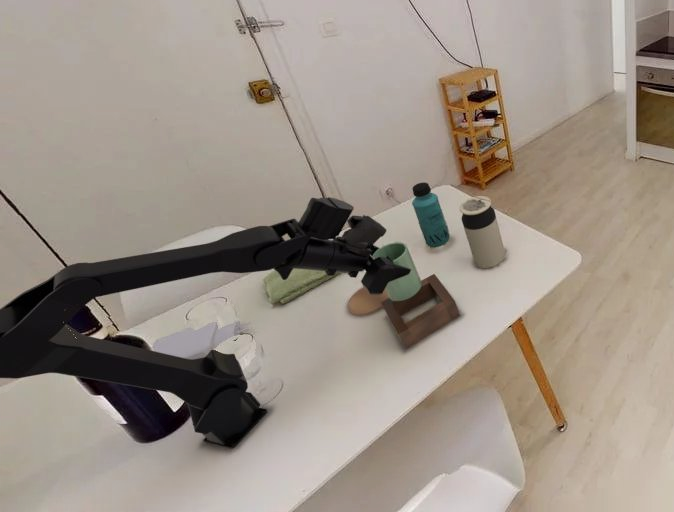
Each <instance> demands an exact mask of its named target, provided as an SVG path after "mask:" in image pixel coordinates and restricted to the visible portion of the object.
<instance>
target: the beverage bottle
mask: <svg viewBox="0 0 674 512" xmlns="http://www.w3.org/2000/svg"><path fill="white" fill-rule="evenodd" d="M411 189H412V194H413V196H414V198H413V200H412V202H411V205H412V207H413V210H414V213H415V215H416V218H417V222H418V225H419V227H420V231H421V234H422V236H423V238H424V242H425V244H426V246H427V247H429V248H433V249H436V248H441V247H443V246H445V245H446V244H448V242H449V241H450V240H451V239H450V238H451V234H450V229H449V227H448V223H447V222H446V219H445V215H444V212H443V209H442V207H441V204H440V201H439V196H438V195H437V194H436V193H434V192H431V191H432V189H431V187H430V185H429V183H428V182H424V181H423V182H419V183H416V184H414V185H413V187H412V188H411Z"/></svg>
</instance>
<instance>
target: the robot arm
mask: <svg viewBox="0 0 674 512" xmlns="http://www.w3.org/2000/svg"><path fill="white" fill-rule="evenodd" d="M354 209H355V207H354V206H353V205H351V204H350V203H348V202H346V201H344V200H342V199H338V198H334V197H331V196H328V197H319V198H317V197H311V198H310V199H309V201H308V203H307V206H306V209H305V211H304V212H303V214H302V216H301V217H300V218H299V221H298V220H297V219H296V218H290V219H287V220H284V221H281V222H277V223H274V224H271V225H258V226H254V227H249V228H247V229H242V230H238V231H235V232H231V233H230V234H228V235H226V236H224V237H221V238H219V239H217V240H214V241H211V242H207V243H202V244H197V245H189V246H184V247H178V248H172V249H167V250H160V251H154V252H148V253H143V254H137V255H131V256H125V257H118V258H113V259H107V260H101V261H96V262H95V261H93V262H75V263H73V264H69V265H67V266H66V267H63V268H62V269H60V270H58V272H56V273H55V274H54V275H52V276H51V277H49V278H48V279H47V280H45V281H42V282H40V283H39V284H37V285H34V286H33V287H31V288H30V289H27V290H25V291H23V292H22V293H20V294H18V295H17V296H16V297H14V298H13V299H11V300H10V301H9V302H8V303H6V304H4V305H3V306H1V307H0V379H11V380H12V379H13V380H17V379H24V378H28V377H29V378H30V377H34V376H40V375H45V374H58V375H65V376H71V377H75V378H76V377H77V378H82V379H87V380H88V379H89V380H94V381H100V382H104V383H105V382H106V383H112V384H118V385H124V386H128V387H129V386H130V387H135V388H141V389H146V390H151V391H152V390H153V391H159V392H164V393H169V394H172V395H174V396H176V397H177V398H178V399H180V400H181V401H183V402H184V403H186V404H187V406H188V410H189V415H190V418H191V422H192V426H193V429H194V433H198V434H202V436H204V439H203V440H202V441H203V443H205V444H208V445H213V446H217V447H222V448H225V449H226V448H227V449H234V448H236V447H237V446H238V444H240V443H241V441H243V440H244V438H246V436H247V435H248V434H249V433H250V432H251V431H252V429H253V428H254V427H255V426H256V425H257V424H258V423H259V422H260V421H261V420H262V419H263V418H264V417H265V416H266V414H268V409H267V408H264V407H261V403H260V401H259V400H258V399H257V398H256V397H255V396H254V395H253V393H252V392H250V391H248V388H249V386H248V381H247V378H246V376H245V373H244V371H243V368H242V366H241V363H240V362H239V360H238V359H237V357H236V355H235V353H223V352H218V351H216V350H211V351H210V352H209V353H208V354H207V356H206V357H203V358H198V359H186V358H181V357H177V356H173V355H168V354H164V353H160V352H155V351H151V349H146V348H142V347H137V346H133V345H128V344H124V343H121V342H115V341H111V340H107V339H104V338H103V339H102V338H98V337H94V336H89V335H86V334H83V333H80V332H79V331H77V330H76V329H75V328H73V327H72V326H70V325H69V324H68V323H69V322H70V321H71V320H72V319H73V318H74V316H76V315H77V314H78V312H80V310H82V308H83V307H85V306H86V305H88V304H89V303H90V302H91V301H93V300H94V299H96V298H100V297H103V296H109V295H113V294H118V293H123V292H127V291H133V290H138V289H142V288H147V287H152V286H156V285H162V284H165V283H171V282H175V281H180V280H181V281H182V280H185V279H190V278H195V277H199V276H203V275H209V274H215V273H216V274H217V273H231V274H249V273H258V272H259V273H260V272H266V271H271V270H273V271H275V270H276V271H277V272H278V273H279V275H280V276H281V278H282V279H283V280H286V279H287V278H288V277H289V275H290V273H291V272H292V270H293V268H295V269H306V270H318V271H325V272H326V274H327V275H328V276H333V277H335V276H334V274H335V273H336V272H340V273H339V274H341V273H342V274H347V276H349V278H354V279H357V277H358V275H359V273H361V272H364V271H365V273H364V275H363V276H362V278H361V280H360V283H361V285H362V288H363V287H364V288H365V289H366V290H367V291H368V292H369V293H370V294H374V295H380V294H382V293H383V291H384V289H385V288H386V286H387V284H388V283H389V282H391V281H393V280H396V279H398V278H401V277H403V276H406V275H408V274H409V273H410V272H411V269H409V268H406V267H403V266H399V265H396V264H394V262H393V261H392V260H391V259H390V258H389V257H388V256H387V257H386V258H385V257H378V258H376V259H374V258H373V257H372V255H373V254H374V253H375V252H376V250H378V249H379V248H380V247H379V246H376V245H375V243H376V242H377V241H378V240H380V238H382V237H384V236H385V235H386V233H387V228H386V227H384V226H383V225H382V224H381V223H380V222H378V221H377V220H376V219H373V218H372V217H371V216H369V215H365V214H362V216H361V215H352V213H353V211H354ZM346 224H348V227H349V228H348V229H346V230H345V231H344V232H343V234H342V235H341V236H340V234H341V232H342V230H343V229H344V227H345V225H346ZM286 235H287V237H289V239H287V240H285V238H284V236H286ZM77 304H78V305H77ZM69 306H70V307H69ZM66 308H67V309H66ZM65 309H66V310H65ZM64 310H65V311H64ZM63 321H64V323H63ZM65 325H66V326H67V327H66V326H65ZM68 328H69V329H68ZM70 330H71V331H70ZM73 334H74V335H73ZM75 337H76V338H77V339H76V338H75Z"/></svg>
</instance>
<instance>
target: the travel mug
mask: <svg viewBox="0 0 674 512" xmlns="http://www.w3.org/2000/svg"><path fill="white" fill-rule="evenodd" d="M459 212H460V213H461V214H462V215H461V222H462V227H463V230H464V233H465V235H466V239H467V241H468V245H469V248H470V252H471V255H472V259H473V261H474V264H475V266H477V267H479V268H482V269H487V268H493V267H494V266H497V265H498V264H500V263H502V261H503V260H504V259H505V257H506V250H505V246H504V243H503V239H502V235H501V231H500V227H499V223H498V220H497V215H496V211H495V209H494V207H492V200H491V199H490V198H489V197H488V196H484V195H476V196H473V197H469V198H467V199H466V200H464V201H463V202H461V204H460V205H459Z"/></svg>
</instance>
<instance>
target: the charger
mask: <svg viewBox="0 0 674 512" xmlns="http://www.w3.org/2000/svg"><path fill="white" fill-rule="evenodd" d="M250 324H251V321H249V322H245V323H242V324H241V321H239V320H238V321H235V322H232V323H229V324H227V325H224V326H223V327H222V328H220V329H218V325H217V322H212V323H208V324H207V325H206V326H204V327H202V328H200V329H198V330H194V329H193V328H192V327H193V326H191V327H187V328H185V329H182V330H180V331H176V332H174V333H171V334H168V335H165V336H163V337H160V338H157V339H156V340H154V342H153V345H152V346H151V349H152V348H153V350H154V351H155V352H160V353H164V354H168V355H173V356H177V357H181V358H186V359H198V358H203V357H206V356H207V354H208V353H209V352H210V351H211V350H213V349H214V348H216V347H217V346H218V345H219V344H220V343H222V342H223V341H225V340H227V339H228V338H231V337H233V336H236V335H238V334H240V335H241V333H243V332H246V331H248V330H249V329H250V327H245V326H248V325H250ZM243 327H245V328H243ZM242 328H243V329H242Z"/></svg>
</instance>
